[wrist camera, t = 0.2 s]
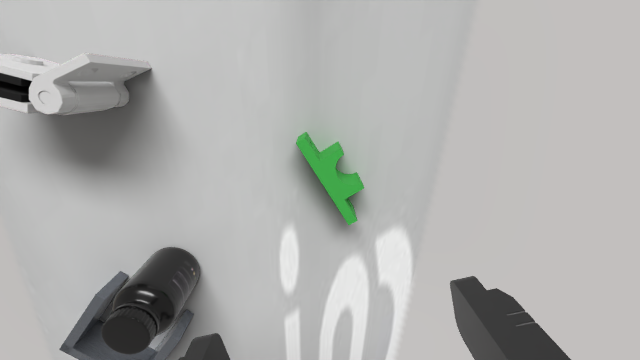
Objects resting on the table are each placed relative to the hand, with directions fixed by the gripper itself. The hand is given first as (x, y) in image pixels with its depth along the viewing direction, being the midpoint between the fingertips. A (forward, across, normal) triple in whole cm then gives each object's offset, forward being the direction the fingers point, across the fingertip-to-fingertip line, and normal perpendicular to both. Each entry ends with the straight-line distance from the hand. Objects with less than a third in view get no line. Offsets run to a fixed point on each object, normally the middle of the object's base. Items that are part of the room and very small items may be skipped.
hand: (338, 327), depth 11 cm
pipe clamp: (+29, +1, -2) cm, 29 cm away
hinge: (+29, -23, +15) cm, 40 cm away
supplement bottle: (+29, -23, -10) cm, 38 cm away
